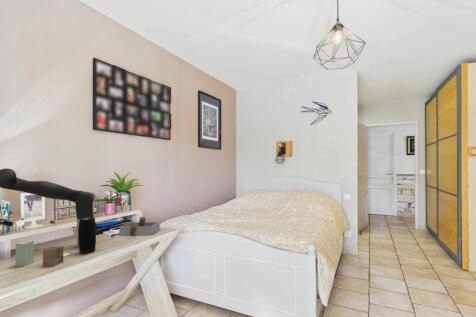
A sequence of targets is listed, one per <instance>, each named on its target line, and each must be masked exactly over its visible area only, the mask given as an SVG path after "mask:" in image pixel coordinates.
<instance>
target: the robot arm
mask: <svg viewBox="0 0 476 317" xmlns="http://www.w3.org/2000/svg"><path fill="white" fill-rule="evenodd" d="M0 188H1V189H3V190H10V191H17V192H22V193H27V194H30V195H35V196H38V197H43V198H47V199H50V200H51V199H52V200H59V201H60V200H61V201H69V202H72V203H75V216H76V247H77V248H79V246H78V245H79V243H78V227H79V221H80V218H85V217H89V216H91V217H94V216H95V214H94V202H95V195H94V194H93V193H91V192H89V191H83V190H78V189H73V188H69V187H66V186H63V185H60V184H57V183H54V182H50V181H47V180H33V181H32V180H27V179H23V178H20V177H17V174H16V171H15V170H14V169H12V168H7V167H6V168H1V169H0ZM94 218H95V217H94ZM13 225H14V221H10V220H8V219H7V218H0V226H4V227H5V226H6V227H13Z"/></svg>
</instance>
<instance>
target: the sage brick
mask: <svg viewBox="0 0 476 317" xmlns="http://www.w3.org/2000/svg"><path fill="white" fill-rule="evenodd" d="M34 242H35V241H34V240H24V241H21V242H18V243H15V267H26V265H27V266H28V265H31V264H33V263H34V260H35V259H34V258H35V257H34V255H35V250H34V249H35V246H34V245H35V243H34Z"/></svg>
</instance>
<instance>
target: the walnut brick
mask: <svg viewBox="0 0 476 317" xmlns="http://www.w3.org/2000/svg"><path fill="white" fill-rule="evenodd" d="M63 253H64V245H57V246H56V245H52V246H49V247H46V248H45V249H42V258H43V259H42V267H56V266H58V265H59V264H61V263H64V257H63Z"/></svg>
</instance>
